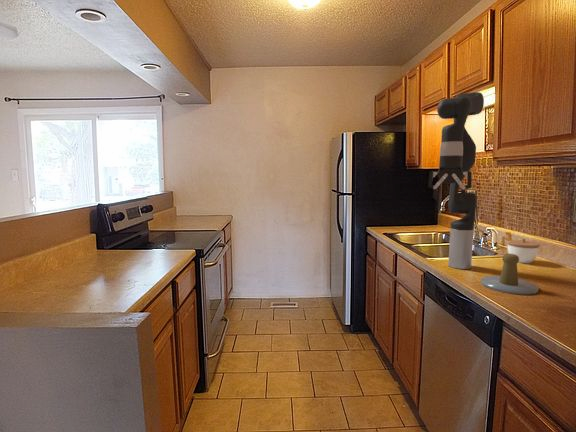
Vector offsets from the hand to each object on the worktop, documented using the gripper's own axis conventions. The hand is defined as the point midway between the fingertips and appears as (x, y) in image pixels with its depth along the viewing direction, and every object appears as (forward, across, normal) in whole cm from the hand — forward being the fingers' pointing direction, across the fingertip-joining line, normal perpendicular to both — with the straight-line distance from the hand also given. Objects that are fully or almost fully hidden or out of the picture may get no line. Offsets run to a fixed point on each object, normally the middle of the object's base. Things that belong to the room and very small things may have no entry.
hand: (448, 199), depth 127 cm
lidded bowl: (+32, -33, -53) cm, 70 cm away
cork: (+31, -22, -8) cm, 39 cm away
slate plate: (+32, -22, -8) cm, 40 cm away
